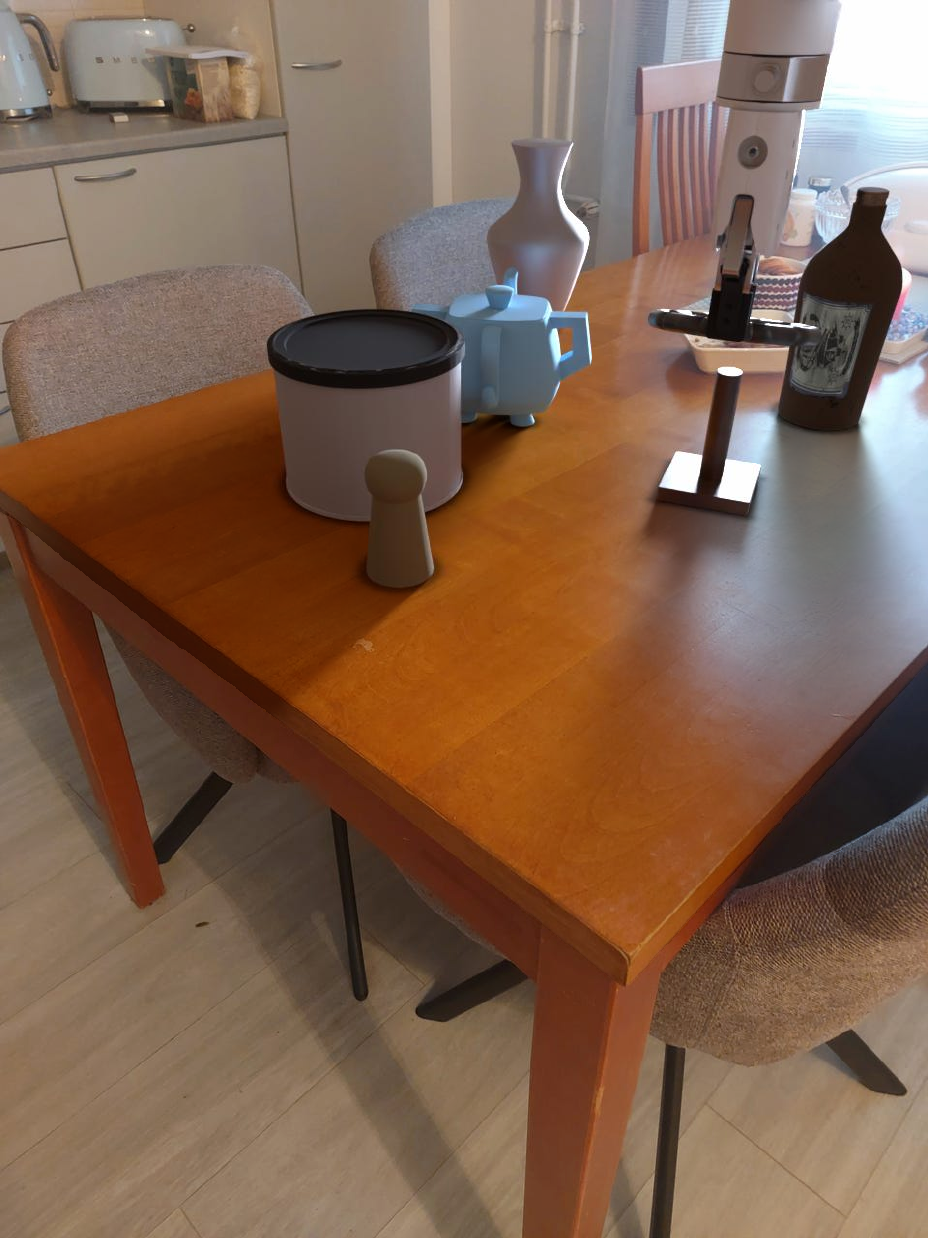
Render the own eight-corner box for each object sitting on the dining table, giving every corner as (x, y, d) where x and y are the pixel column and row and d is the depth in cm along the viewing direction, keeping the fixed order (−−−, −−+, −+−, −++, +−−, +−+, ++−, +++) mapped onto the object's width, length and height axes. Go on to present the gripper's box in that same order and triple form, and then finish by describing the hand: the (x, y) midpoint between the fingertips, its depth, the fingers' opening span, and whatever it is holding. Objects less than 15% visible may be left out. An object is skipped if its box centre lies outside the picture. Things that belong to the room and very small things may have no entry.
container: (253, 470, 95) (232, 330, 87) (399, 427, 105) (393, 296, 96) (344, 543, 83) (331, 388, 75) (500, 486, 93) (505, 343, 84)
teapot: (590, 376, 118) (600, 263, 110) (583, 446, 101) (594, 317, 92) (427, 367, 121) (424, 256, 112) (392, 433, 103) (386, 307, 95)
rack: (758, 477, 94) (783, 362, 87) (747, 516, 88) (773, 394, 80) (673, 463, 97) (691, 350, 90) (656, 499, 90) (673, 380, 83)
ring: (819, 343, 86) (824, 325, 85) (818, 351, 73) (823, 331, 72) (663, 323, 90) (665, 307, 90) (634, 328, 77) (637, 309, 77)
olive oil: (790, 392, 114) (838, 176, 99) (875, 411, 109) (940, 187, 94) (758, 419, 107) (806, 191, 92) (848, 441, 102) (913, 204, 87)
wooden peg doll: (447, 563, 80) (445, 451, 74) (408, 595, 76) (403, 479, 70) (392, 544, 83) (387, 435, 77) (352, 574, 79) (342, 461, 73)
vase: (469, 321, 137) (470, 137, 122) (551, 309, 142) (562, 131, 127) (513, 350, 126) (519, 153, 111) (600, 336, 131) (617, 145, 116)
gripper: (817, 96, 58) (760, 372, 69) (832, 75, 69) (781, 313, 80) (700, 91, 60) (663, 359, 71) (733, 71, 72) (697, 304, 83)
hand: (726, 333), depth 75 cm, fingers closed on ring, 1 cm apart
